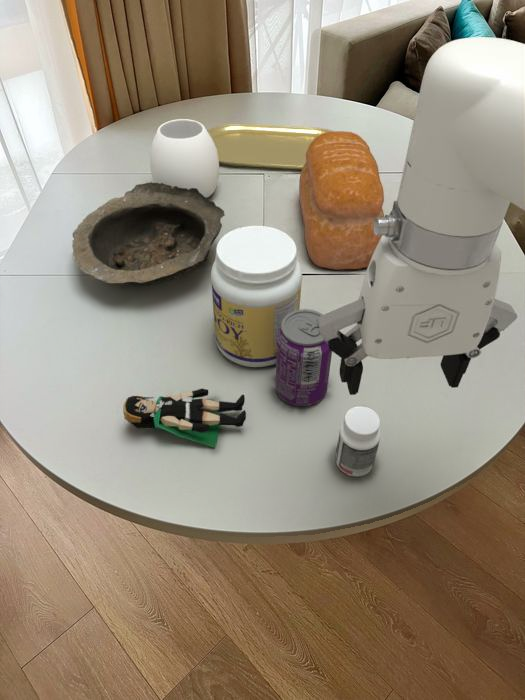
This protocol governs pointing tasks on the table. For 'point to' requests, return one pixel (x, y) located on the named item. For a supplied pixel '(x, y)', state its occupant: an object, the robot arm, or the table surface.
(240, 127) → the serving platter
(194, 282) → the table surface
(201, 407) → the figurine
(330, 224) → the bread
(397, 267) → the robot arm
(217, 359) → the table surface
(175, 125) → the white vase
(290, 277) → the supplement tub
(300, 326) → the beverage can
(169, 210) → the stone bowl
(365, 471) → the pill bottle
